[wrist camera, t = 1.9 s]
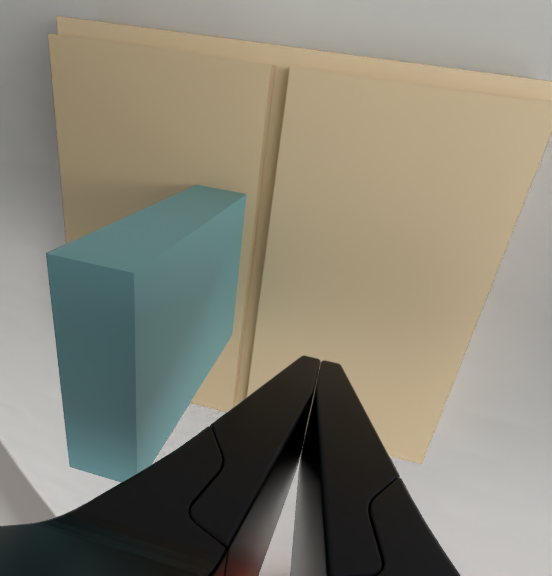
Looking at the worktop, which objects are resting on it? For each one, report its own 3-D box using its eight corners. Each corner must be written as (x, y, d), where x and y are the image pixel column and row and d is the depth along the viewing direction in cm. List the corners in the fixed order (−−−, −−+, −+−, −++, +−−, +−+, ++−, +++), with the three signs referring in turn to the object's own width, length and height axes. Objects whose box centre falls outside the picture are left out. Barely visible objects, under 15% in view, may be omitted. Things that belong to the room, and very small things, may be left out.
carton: (544, 85, 12) (576, 82, 10) (415, 434, 17) (420, 474, 15) (87, 24, 14) (41, 11, 12) (104, 353, 19) (75, 380, 17)
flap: (275, 65, 11) (152, 23, 5) (235, 405, 17) (149, 588, 10) (59, 35, 12) (-264, -33, 6) (85, 365, 18) (-77, 511, 11)
